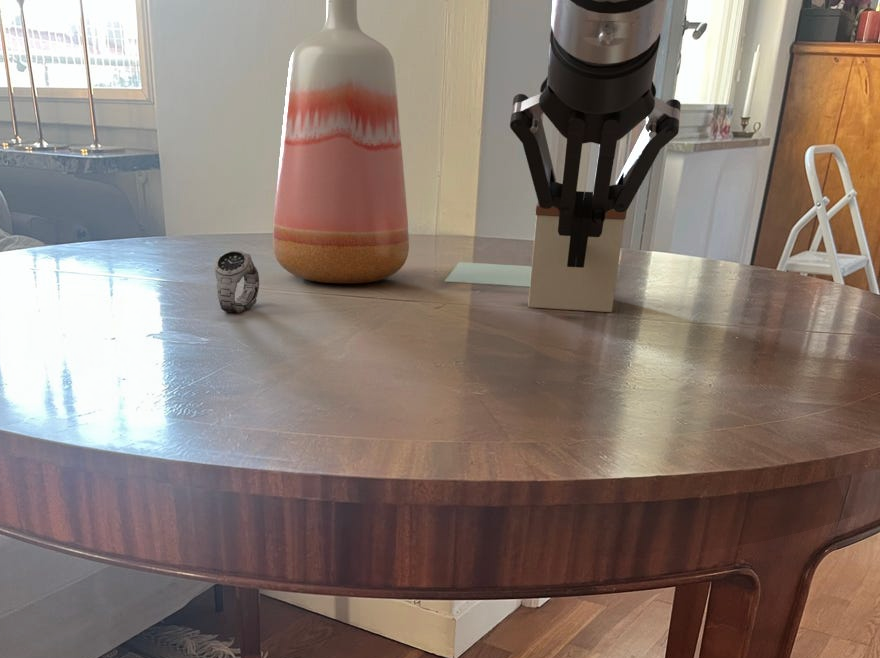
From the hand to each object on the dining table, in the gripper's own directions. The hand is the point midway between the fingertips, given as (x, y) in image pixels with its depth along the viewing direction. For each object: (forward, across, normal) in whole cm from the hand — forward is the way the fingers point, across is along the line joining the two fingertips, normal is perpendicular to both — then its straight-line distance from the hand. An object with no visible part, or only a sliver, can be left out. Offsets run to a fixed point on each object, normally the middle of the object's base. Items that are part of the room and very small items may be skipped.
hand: (576, 254), depth 88 cm
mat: (+18, -5, +10) cm, 21 cm away
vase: (+12, -25, +4) cm, 28 cm away
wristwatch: (-1, -30, -9) cm, 31 cm away
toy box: (+7, 0, 0) cm, 7 cm away
